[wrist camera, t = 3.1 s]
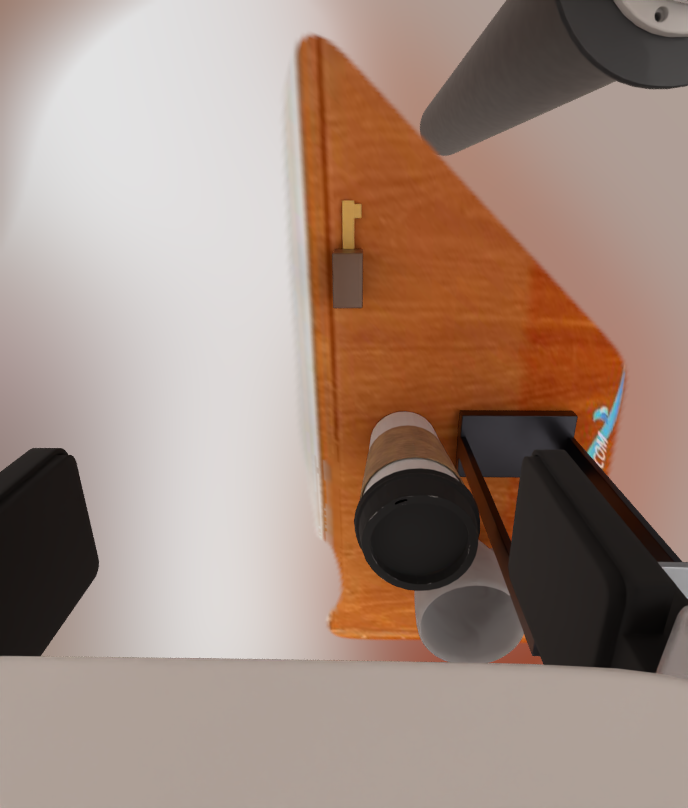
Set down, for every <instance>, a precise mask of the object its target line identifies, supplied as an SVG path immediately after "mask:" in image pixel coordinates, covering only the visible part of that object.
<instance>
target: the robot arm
mask: <svg viewBox="0 0 688 808" xmlns="http://www.w3.org/2000/svg"><path fill="white" fill-rule="evenodd" d="M613 1H614V2H615V4H616V5H617V7H618V8H619V9H620V11H621V12H622V13H623V15H624V16H625V17H627V18H628V19H629V20H630V21H631V22H632V23H634V24H635V25H636V26H638V27H640V28H642V29H644V30H646V31H648V32H650V33H652V34H656V35H660V36H665V37H688V0H613ZM655 14H656V15H657V17H658V19H657V21H656V20H655ZM98 567H99V560H98V555H97V550H96V546H95V542H94V537H93V533H92V529H91V525H90V520H89V515H88V511H87V507H86V503H85V498H84V494H83V490H82V485H81V481H80V476H79V472H78V468H77V463H76V461H75V458H74V457H73V456H72V455H68V453H67V452H66V451H65V450H64V449H62V448H32V449H30V450H29V451H27V452H26V453H25V454H23V455H22V456H21V457H20V458H18V459H17V460H16V461H14V462H13V463H12V464H10V465H9V466H8V467H6V468H5V469H4V470H2V471H1V472H0V808H688V599H687V598H686V596H685V595H684V594H683V593H682V592H681V590H680V589H679V588H678V587H677V585H676V584H675V583H674V581H673V580H672V579H671V578H670V577H669V575H668V574H667V573H666V572H665V571H664V569H663V568H662V567H661V566H660V565H659V563H658V562H657V561H656V560H655V558H654V557H653V556H652V555H651V554H650V552H649V551H648V550H647V549H646V548H645V546H644V545H643V544H642V543H641V542H640V540H639V539H638V538H637V537H636V535H635V534H634V533H633V532H632V531H631V529H630V528H629V527H628V526H627V525H626V523H625V522H624V521H623V520H622V518H621V517H620V516H619V515H618V514H617V512H616V511H615V510H614V509H613V508H612V506H611V505H610V504H609V503H608V502H607V500H606V499H605V498H604V497H603V495H602V494H601V493H600V492H599V491H598V489H597V488H596V487H595V486H594V485H593V483H592V482H591V481H590V480H589V479H588V477H587V476H586V475H585V474H584V472H583V471H582V470H581V469H580V468H579V466H578V465H577V464H576V463H575V462H574V460H573V459H572V458H571V457H570V456H569V454H568V453H567V452H566V451H565V450H534V451H533V453H532V455H531V456H525V457H524V459H523V461H522V467H521V474H520V482H519V489H518V496H517V504H516V511H515V519H514V526H513V533H512V541H511V548H510V556H509V564H508V570H509V577H510V581H511V584H512V586H513V589H514V591H515V594H516V596H517V599H518V601H519V604H520V606H521V609H522V611H523V614H524V617H525V619H526V622H527V624H528V627H529V629H530V632H531V634H532V637H533V639H534V642H535V644H536V647H537V649H538V652H539V654H540V657H541V659H542V661H543V664H544V665H539V664H537V665H536V664H501V663H499V664H498V663H450V662H447V663H445V662H399V661H398V662H397V661H344V660H339V661H338V660H278V659H216V658H213V659H212V658H134V657H132V658H131V657H130V658H129V657H57V656H56V657H55V656H41V655H42V653H43V652H44V650H45V649H46V647H47V646H48V645H49V643H50V641H51V640H52V639H53V637H54V636H55V635H56V633H57V632H58V630H59V629H60V627H61V626H62V624H63V623H64V622H65V620H66V619H67V617H68V616H69V614H70V613H71V612H72V610H73V609H74V607H75V606H76V604H77V603H78V601H79V600H80V599H81V597H82V596H83V594H84V593H85V591H86V590H87V589H88V587H89V586H90V584H91V583H92V581H93V580H94V578H95V577H96V574H97V571H98Z"/></svg>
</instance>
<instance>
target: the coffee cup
mask: <svg viewBox="0 0 688 808" xmlns="http://www.w3.org/2000/svg"><path fill="white" fill-rule="evenodd" d="M354 524H355V532H356V537H357V540H358V543H359V546H360V548H361V549H362V551H363V553H364V556H365V559H366V561H367V562H368V564H369V565H370V567H371V568H372V569H373V571H374V572H375V573H376V574H377V575H378V576H380V577H381V578H382V579H384V580H385V581H386V582H388V583H390V584H392V585H394V586H397V587H400V588H403V589H407V590H415V591H428V590H433V589H438V588H441V587H444V586H447V585H449V584H451V583H452V582H454V581H456V580H457V579H459V578H460V577H461V576H462V575H463V574H464V573H466V571H467V570H468V569H469V567H470V566H471V565H472V563H473V561H474V559H475V556H476V553H477V549H478V537H479V533H480V518H479V510H478V506H477V503H476V501H475V499H474V497H473V495H472V494H471V492H470V491H469V490H468V489H467V488H466V486H465V485H464V483H463V481H462V479H461V478H460V476H459V474H458V472H457V470H456V469H455V467H454V465H453V463H452V461H451V460H450V458H449V456H448V454H447V452H446V451H445V449H444V447H443V445H442V443H441V442H440V441H439V438H438V436H437V434H436V432H435V430H434V428H433V427H432V425H431V424H430V423H429V422H428V421H427V420H426V419H425V418H424V417H422V416H420V415H418V414H416V413H412V412H396V413H392V414H390V415H388V416H386V417H384V418H383V419H382V420H380V421H379V422H378V423H377V425H376V426H375V428H374V429H373V432H372V434H371V439H370V446H369V452H368V457H367V462H366V468H365V473H364V479H363V484H362V490H361V496H360V501H359V503H358V506H357V509H356V512H355V519H354Z"/></svg>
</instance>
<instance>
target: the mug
mask: <svg viewBox="0 0 688 808" xmlns="http://www.w3.org/2000/svg"><path fill="white" fill-rule="evenodd" d="M415 613H416V622H417V628H418V632H419V636H420V638H421V640H422V642H423V644H424V645H425V646H426V648H427V649H428V650H429V651H431V652H432V653H433V654H434V655H435V656H437V657H439V658H441V659H442V660H445V661H447V662H450V663H489V662H492V661H495V660H497V659H499V658H501V657H503V656H505V655H506V654H508V653H509V652H510V651H512V650H513V649H514V648H515V647H516V646H517V644H518V643H519V642H520V640H521V638H522V636H523V634H524V632H523V629H522V626H521V624H520V621H519V618H518V616H517V613H516V610H515V607H514V605H513V602H512V599H511V597H510V594H509V591H508V589H507V586H506V583H505V580H504V578H503V575H502V572H501V570H500V567H499V564H498V561H497V559H496V556H495V553H494V551H493V548H491V549H489V548H488V547H487V546H486V545H485V544H483V543H482V542H481V541H479V540H478V549H477V553H476V556H475V559H474V561H473V563H472V565H471V566H470V567H469V569H468V570H467V571H466V573H464V574H463V575H462V576H461V577H460V578H459V579H457V580H456V581H454V582H452V583H451V584H449V585H447V586H444V587H441V588H438V589H433V590H428V591H415Z"/></svg>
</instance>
